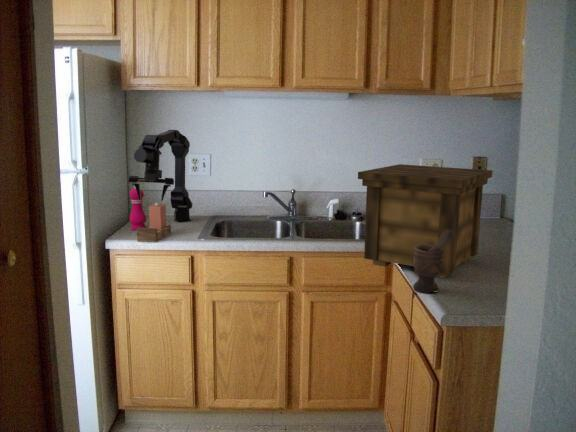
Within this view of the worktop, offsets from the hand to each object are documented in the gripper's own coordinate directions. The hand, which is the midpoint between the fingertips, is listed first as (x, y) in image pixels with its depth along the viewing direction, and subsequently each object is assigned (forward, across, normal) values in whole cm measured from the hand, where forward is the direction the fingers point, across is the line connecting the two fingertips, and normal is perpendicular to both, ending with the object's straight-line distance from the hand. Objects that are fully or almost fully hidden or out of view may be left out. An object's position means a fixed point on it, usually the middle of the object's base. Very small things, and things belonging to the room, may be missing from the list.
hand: (150, 200), depth 224 cm
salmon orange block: (+12, +4, -2) cm, 12 cm away
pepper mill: (+14, -6, +12) cm, 19 cm away
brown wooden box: (+15, +2, -5) cm, 16 cm away
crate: (+17, +97, -61) cm, 116 cm away
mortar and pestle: (+22, +86, -89) cm, 126 cm away
